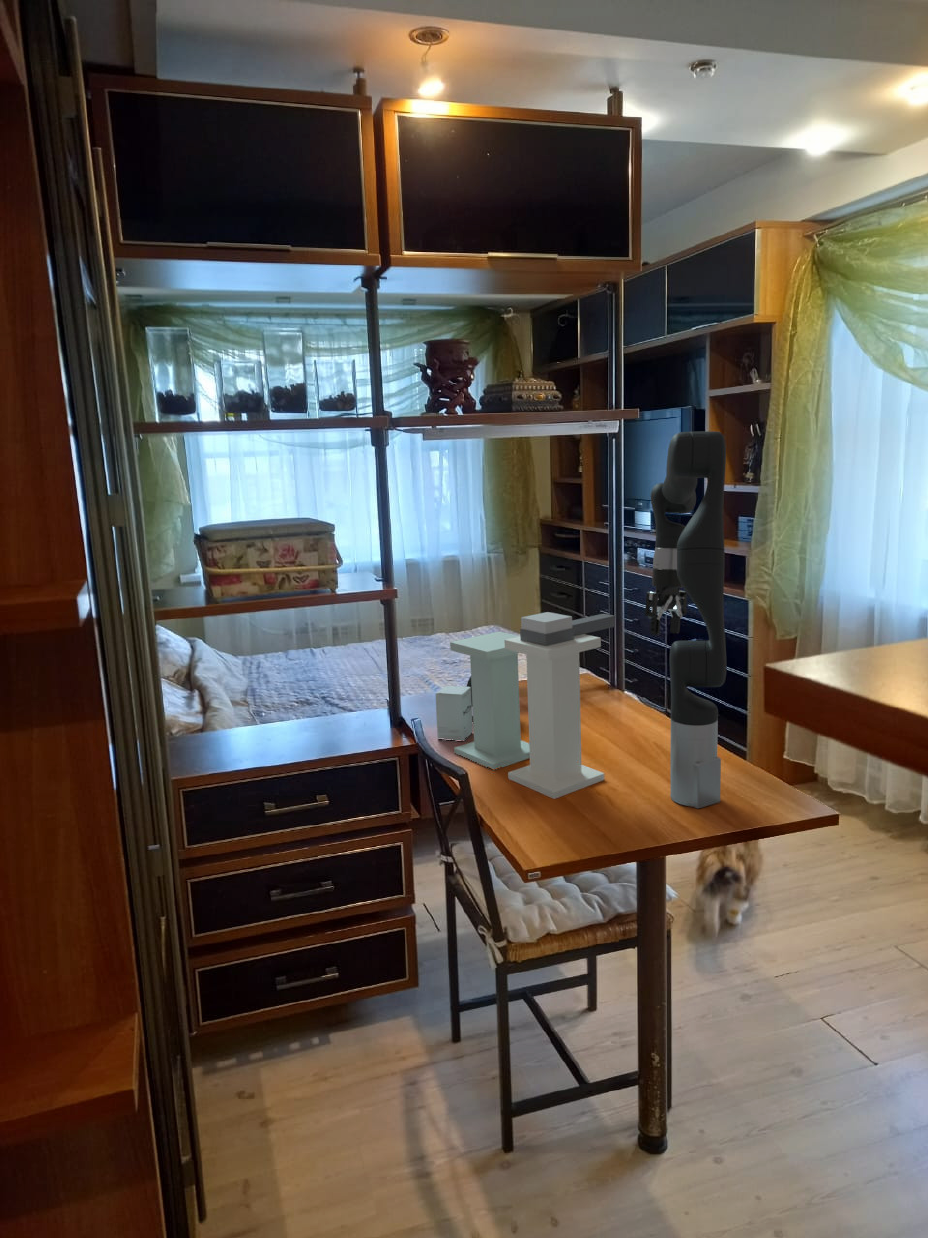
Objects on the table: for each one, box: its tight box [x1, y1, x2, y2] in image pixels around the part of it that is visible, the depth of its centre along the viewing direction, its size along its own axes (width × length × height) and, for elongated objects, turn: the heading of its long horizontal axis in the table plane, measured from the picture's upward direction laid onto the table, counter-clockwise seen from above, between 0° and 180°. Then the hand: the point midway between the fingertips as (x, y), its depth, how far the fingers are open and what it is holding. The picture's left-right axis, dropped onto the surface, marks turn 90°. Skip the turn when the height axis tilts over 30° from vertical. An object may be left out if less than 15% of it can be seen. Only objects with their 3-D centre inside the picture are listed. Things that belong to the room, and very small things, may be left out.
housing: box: [519, 611, 616, 646], centre depth 184 cm, size 23×8×5 cm, turn 127°
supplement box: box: [434, 685, 474, 741], centre depth 217 cm, size 7×7×13 cm
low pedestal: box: [449, 631, 530, 770], centre depth 202 cm, size 15×15×28 cm
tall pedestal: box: [504, 634, 605, 800], centre depth 184 cm, size 15×15×32 cm
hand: (664, 634), depth 205 cm, fingers open, 8 cm apart
